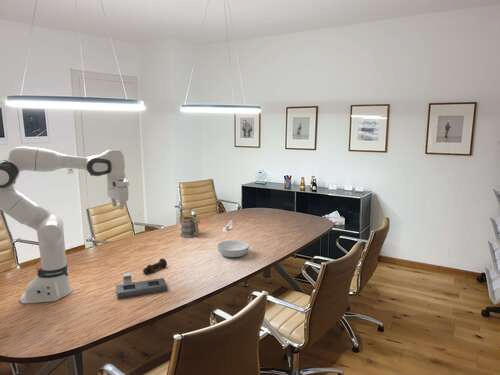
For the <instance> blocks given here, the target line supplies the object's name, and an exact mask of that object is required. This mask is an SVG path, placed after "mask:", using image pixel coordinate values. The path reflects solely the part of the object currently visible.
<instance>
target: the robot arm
mask: <svg viewBox="0 0 500 375" xmlns="http://www.w3.org/2000/svg"><path fill="white" fill-rule="evenodd" d="M8 155H9V156H8V159H7V160H6V159H4V160H0V211H2V212H4V213H5V214H6V215H7V216H9V217H10V218H13V219H14V220H15V221H17V222H18V223H19V224H21V225H25V226H26V227H28V228H31V229H33V230H35V231H36V233H37V241H38V249H39V254H40V255H39V256H40V266H37V268H36V275H37V276H35V277H34V278H33V279H31V281H29V282H28V283H27V285H26V287H25V291H24V292H23V293H22V294H21V296H20V303H21V304H24V305H25V304H37V303H47V302H56V301H58V300H60V299H61V298H64V297H66V296H68V295H70V294H71V293H72V292H73V288H72V287H71V283H70V279H69V266H68V264H67V257H66V244H65V235H64V234H65V233H64V222H63V220H62V219H61V217H60V216H58V215H56V214H54V213H52V212H51V211H50V210H48V209H46V208H44V207H42V206H40V205H39V204H38V203H36V202H34V200H32V199H30V198H28V196H26V195H24V194H23V193H21V192H20V191H19V190H18V189H17V188H16V187H15V184H16V182H17V180H18V179H19V177H20V173H21V172H23V171H30V172H38V173H39V172H40V173H41V172H44V173H45V172H47V173H49V172H54V171H57V170H60V169H76V170H85V171H87V172H88V173H89V174H90V175H92V176H93V177H101V176H104V175H106V179H107V184H106V185H107V194H106V195H107V196H108V197H109V198H110V200H111V203H112V207H114V208H115V207H117V206H118V203H117V202H119V206H118V208H119V210H121V211H122V210H124V209H125V207H124V206H125V203H126V202H128V201H129V186H130V184H129V181H128V180H127V178H126V173H125V168H126V165H125V157H124V153H123V152H122V151H121V150H117V149H107V150H106V151H104V152H102V153H101V154H92V155H90V156H78V155H70V154H69V155H68V154H64V153H60V152H58V151H55V150H51V149H49V148H42V147H34V146H33V147H31V146H16V147H13V148H12V149H11V150H10V151H9V154H8Z"/></svg>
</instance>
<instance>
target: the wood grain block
mask: <svg viewBox="0 0 500 375" xmlns="http://www.w3.org/2000/svg"><path fill="white" fill-rule="evenodd" d="M132 281H133V280H132V272H126V273H125V272H124V273H122V282H123V284H127V283H133V282H132Z"/></svg>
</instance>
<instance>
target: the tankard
mask: <svg viewBox="0 0 500 375" xmlns="http://www.w3.org/2000/svg"><path fill="white" fill-rule="evenodd" d="M200 223H201V221H200V219H198V218H197V217H195V216H184V217H183V216H182V218H181V221H180V226H181V228H180V231H181V233H180V234H179V236H180V237H181V238H183V239H186V238H187V239H192V238H195V237H196V238H197V237H198V235H199V231H200V230H199V229H200V228H199V225H198V224H200Z"/></svg>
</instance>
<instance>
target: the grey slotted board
mask: <svg viewBox="0 0 500 375" xmlns="http://www.w3.org/2000/svg"><path fill="white" fill-rule="evenodd" d="M115 288H116V289H115V290H116V297H117V300H120V299H126V298H132V297H139V296H144V295H151V294H156V293H161V292H168V283H167V282H166V280H165V278H164V277H162V278H155V279H149V280H143V281H142V280H141V281H136V282H132V283H127V284H121V283H120V284H116V285H115Z"/></svg>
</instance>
